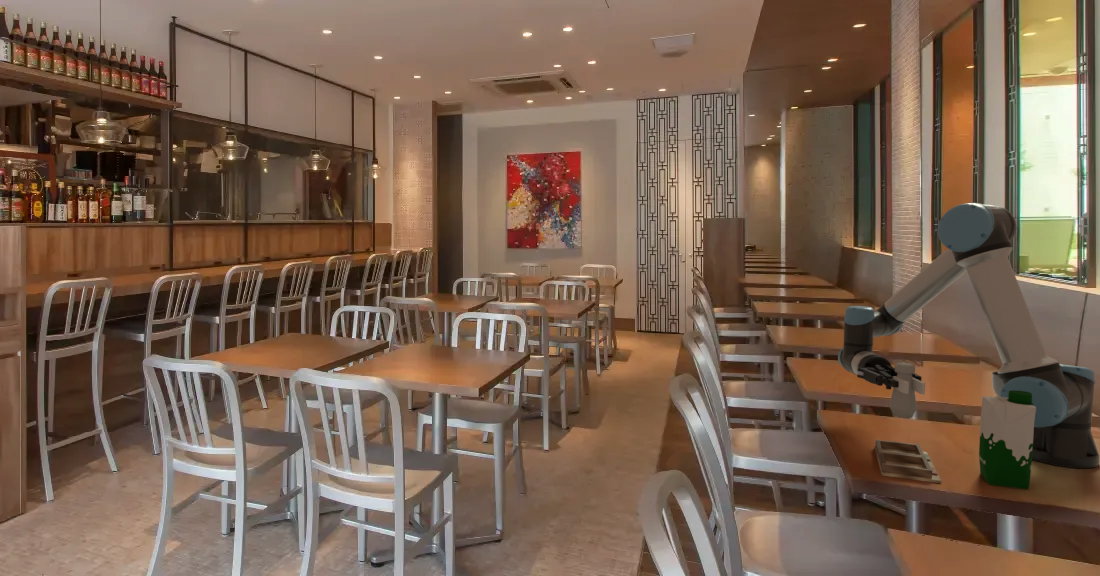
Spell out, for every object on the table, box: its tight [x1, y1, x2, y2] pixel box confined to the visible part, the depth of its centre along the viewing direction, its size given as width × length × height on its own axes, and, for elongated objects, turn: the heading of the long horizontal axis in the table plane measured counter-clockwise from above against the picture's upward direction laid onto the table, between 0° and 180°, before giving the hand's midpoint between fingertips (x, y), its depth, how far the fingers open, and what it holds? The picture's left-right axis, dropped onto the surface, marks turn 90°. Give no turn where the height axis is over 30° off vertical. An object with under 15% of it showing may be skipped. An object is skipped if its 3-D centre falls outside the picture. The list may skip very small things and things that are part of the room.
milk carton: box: [978, 390, 1036, 490], centre depth 133 cm, size 9×9×20 cm
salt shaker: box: [888, 361, 918, 419], centre depth 148 cm, size 6×6×13 cm
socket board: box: [874, 439, 942, 484], centre depth 144 cm, size 11×20×2 cm, turn 156°
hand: (915, 388), depth 143 cm, fingers closed on salt shaker, 3 cm apart
